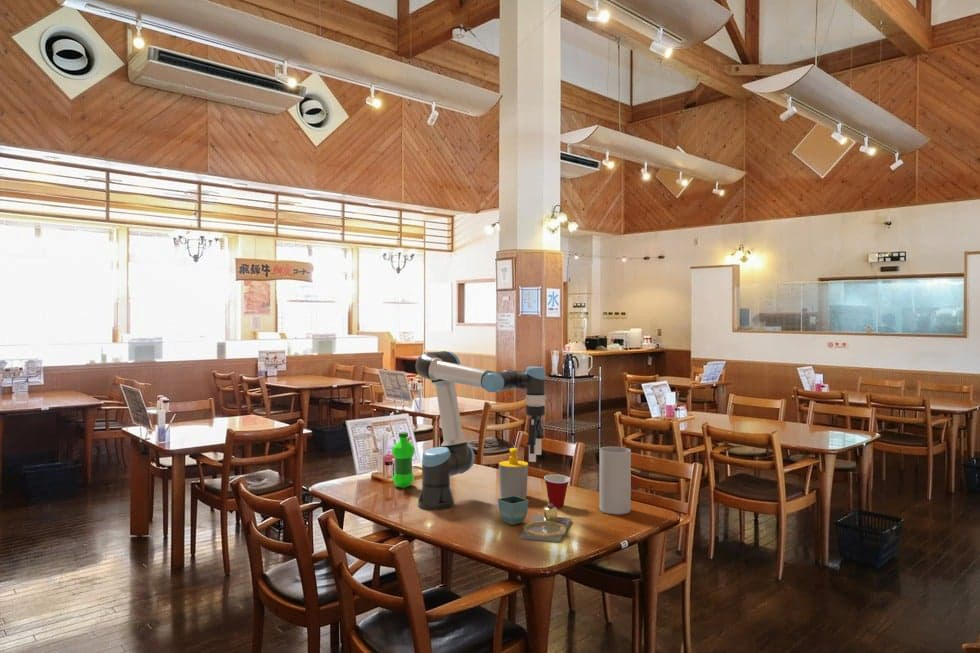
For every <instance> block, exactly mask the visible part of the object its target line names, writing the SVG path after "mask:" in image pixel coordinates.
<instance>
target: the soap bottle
mask: <svg viewBox="0 0 980 653" xmlns="http://www.w3.org/2000/svg"><path fill="white" fill-rule="evenodd" d="M508 450H509V453H510V456H509V457H508V460H504V461H500V462H498V471H499V472H498V474H499V493H500V499H501V498H505V497H510V496H517V497H520V498H524V499H526V498H527V496H528V495H527V491H528V475H529V473H528V472H529V463H528V462H527V461H523V460H519V456H517V451H518V450H519V449H518V448H517V447H510V448H509V449H508Z"/></svg>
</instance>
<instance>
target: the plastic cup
mask: <svg viewBox="0 0 980 653" xmlns="http://www.w3.org/2000/svg"><path fill="white" fill-rule="evenodd" d="M543 479H544V482H545V485H546V486H545V487H546V494H547V498H548V503H552V504H553V507H556V508H557V509H558V508H559V509H560V508H563V507H564V505H565V500H566V495H567V489H568V484H569V482H570V481H571V479H570V478H569V477H568V476H565V475H562V474H547V475H544V476H543Z"/></svg>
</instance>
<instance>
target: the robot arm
mask: <svg viewBox="0 0 980 653" xmlns="http://www.w3.org/2000/svg"><path fill="white" fill-rule="evenodd" d="M415 370H416V373H417V375H419V377H421V378H423V379H425V380H431V385H433V386H434V387H435V389H436V390H435V392H436V396H437V397H436V398H437V403H438V404H437V405H438V412H439V417H440V424H441V425H440V426H441V431H442V438H443V442H442V443H441V445H440V446H436V447H431V448H428V449H426V450H424V452H422V456H421V457H422V459H421V464H422V465H421V472H422V473H421V475H422V476H421V478H422V480H421V482H422V483H421V485H422V486H421V490H420V493H419V496H418V499H417V503H418V504H417V506H418V507H419V508H420V509H424V510H429V511H430V510H431V511H433V510H434V511H440V510H441V511H442V510H446V509H451V508H453V507H454V506H455V498H454V495H453V492H452V488H451V477H453V476H456V475H461V474H465V472H466V473H467V472H468V471H469V470H471V468H472V467H473V466H474V463H475V457H476V455H475V452H474V450H473V449H472V448H471V446H470V445H468V440H467V439H466V438H464V436H463V429H462V428H463V427H462V423H461V422H462V421H461V415H460V410H459V408H460V407H459V404H458V402H459V401H458V397H457V390H456V389H457V388H456V384H461V385H466V386H471V387H476V388H480V389H483V390H485V391H486V392H488V393H499V392H504V391H510V390H525V393H526V395H525V403H526V406H525V408H526V410H525V414H526V415H527V416H531V419H529V421H528V422H529V425H528V426H529V427H528V428H529V429H528V438H527V439H528V441H527V442H526V446H528V462H529V463H530V462H531V463H536V462H537V455H538V456H541V455H542V439H544V435H543V428H542V426H543V425H542V416H545V414H546V406H545V404H546V400H547V397H546V371H545V368H544V367H543V366H536V365H535V366H531V365H530V366H527V367H526V370H513V369H505V370H502V371H493V370H488V369H482V368H479V367H473V366H468V365H463V364H461V360H460V359H459V357H458V356H457V355H456V354H455V353H454V352H452V351H448V350H447V351H446V350H442V351H431V352H430V351H429V352H424V353H422V354H421V355H419V356H418V358H417V359H416V362H415Z"/></svg>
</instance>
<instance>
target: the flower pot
mask: <svg viewBox="0 0 980 653" xmlns="http://www.w3.org/2000/svg"><path fill="white" fill-rule="evenodd" d="M529 502H530V500H529V499H526V498H525V499H524V498H520V497H517V496H510V497H505V498H501V497H500V498H498V499H497V504H498V510H499V515H500V518H501V519H502V521H503V522H504V523H506V524H508V525H511V526H514V525H518V524H521V523H523V522H524V521H525V519H526V518H527V514H528V509H529V504H530V503H529Z"/></svg>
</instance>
